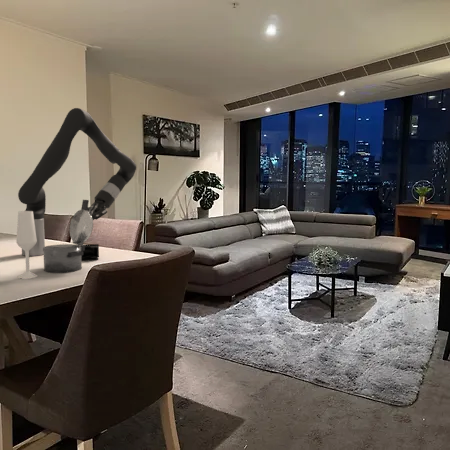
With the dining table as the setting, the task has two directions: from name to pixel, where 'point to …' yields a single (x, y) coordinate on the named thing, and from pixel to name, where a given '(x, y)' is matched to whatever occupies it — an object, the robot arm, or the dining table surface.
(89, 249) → the end cap
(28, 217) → the champagne flute
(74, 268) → the pot
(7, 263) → the dining table surface
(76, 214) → the lid
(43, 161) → the robot arm
